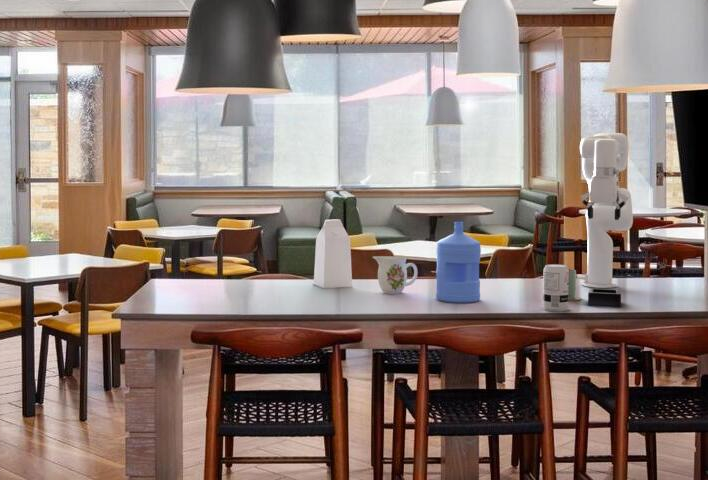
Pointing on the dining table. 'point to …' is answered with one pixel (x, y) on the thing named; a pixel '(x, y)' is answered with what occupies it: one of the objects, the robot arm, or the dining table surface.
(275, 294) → the dining table surface
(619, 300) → the black square frame
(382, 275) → the pitcher
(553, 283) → the supplement can
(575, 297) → the coaster
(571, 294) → the cup
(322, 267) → the milk
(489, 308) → the dining table surface
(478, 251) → the water jug
